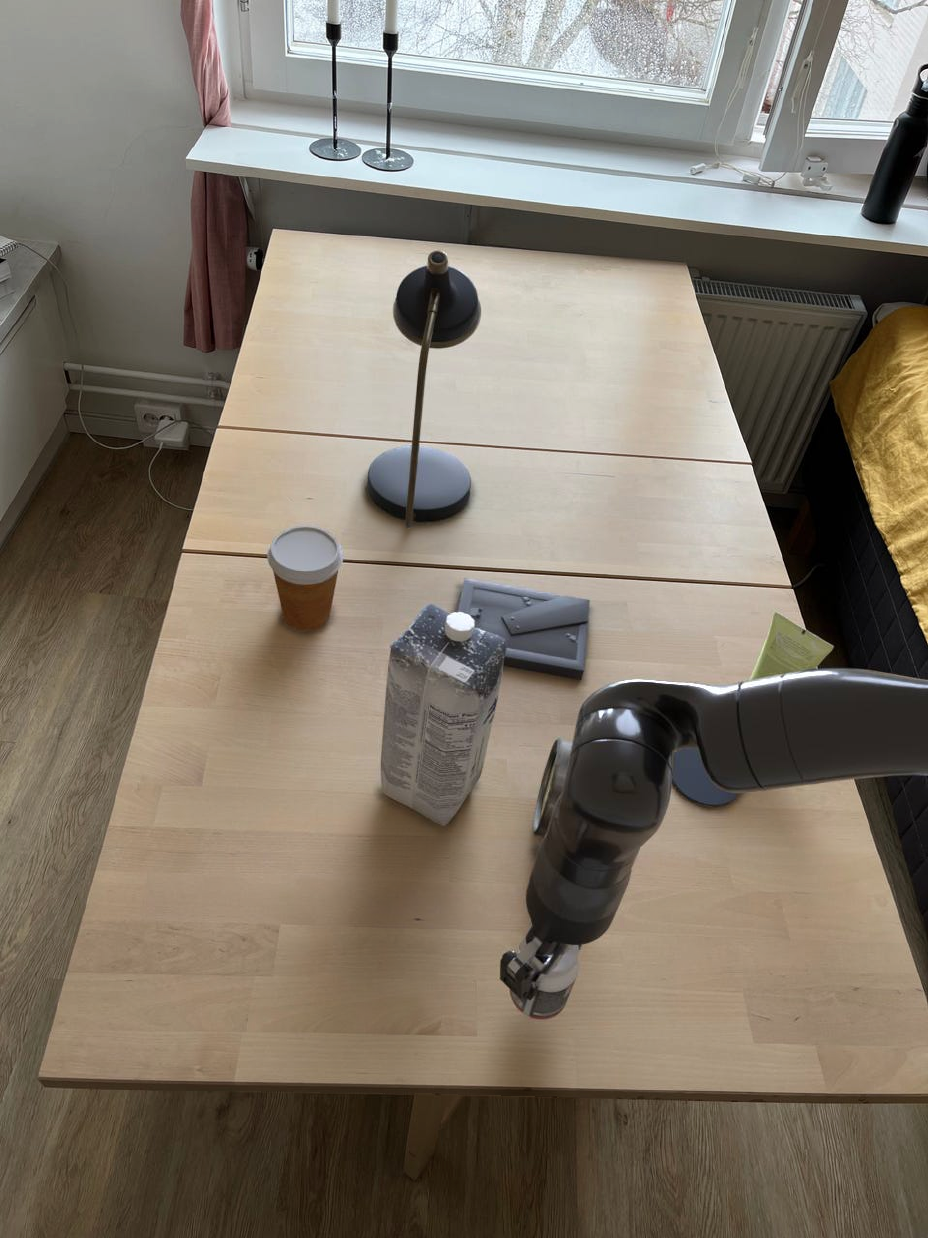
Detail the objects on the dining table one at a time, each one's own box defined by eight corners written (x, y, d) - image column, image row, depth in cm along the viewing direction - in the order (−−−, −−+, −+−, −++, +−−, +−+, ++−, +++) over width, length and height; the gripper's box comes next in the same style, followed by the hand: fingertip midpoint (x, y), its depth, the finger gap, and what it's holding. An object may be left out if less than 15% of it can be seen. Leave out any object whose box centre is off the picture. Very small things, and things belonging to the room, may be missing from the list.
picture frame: (587, 609, 136) (463, 587, 137) (590, 598, 135) (464, 576, 135) (581, 680, 127) (448, 656, 127) (584, 669, 125) (450, 645, 126)
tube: (766, 717, 126) (822, 613, 112) (775, 748, 123) (834, 646, 108) (724, 715, 125) (775, 610, 111) (732, 746, 122) (786, 643, 108)
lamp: (475, 461, 157) (508, 230, 130) (461, 549, 142) (495, 309, 114) (377, 446, 157) (389, 211, 130) (352, 533, 142) (360, 288, 114)
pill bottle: (575, 980, 95) (594, 934, 88) (554, 1032, 91) (572, 988, 84) (521, 954, 96) (536, 906, 89) (499, 1005, 93) (512, 959, 86)
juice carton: (448, 839, 109) (475, 686, 89) (369, 795, 111) (379, 638, 92) (485, 783, 114) (519, 628, 95) (410, 743, 117) (427, 584, 98)
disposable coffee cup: (256, 622, 128) (251, 555, 119) (295, 579, 134) (293, 513, 126) (318, 650, 126) (318, 584, 117) (355, 605, 132) (357, 539, 123)
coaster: (755, 778, 119) (756, 776, 119) (714, 820, 114) (715, 818, 114) (696, 733, 123) (697, 731, 123) (654, 772, 118) (655, 770, 118)
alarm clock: (540, 778, 116) (564, 692, 104) (584, 789, 115) (614, 704, 103) (525, 857, 108) (550, 774, 96) (573, 869, 108) (603, 787, 96)
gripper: (556, 969, 72) (524, 1052, 84) (668, 854, 80) (625, 946, 92) (484, 901, 76) (464, 991, 88) (598, 797, 83) (565, 892, 96)
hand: (546, 967), depth 90 cm, fingers closed on pill bottle, 5 cm apart
